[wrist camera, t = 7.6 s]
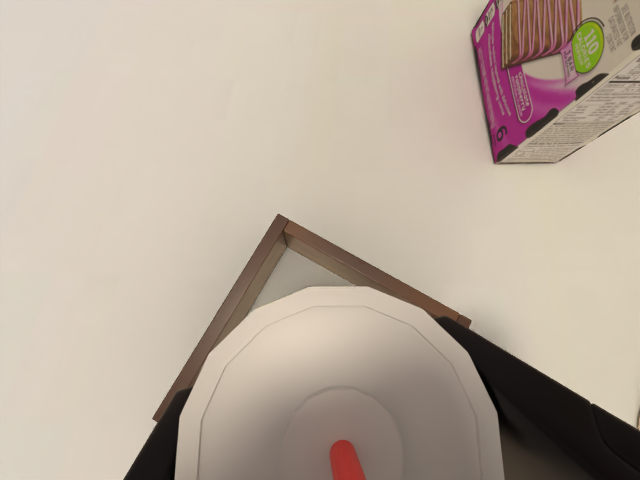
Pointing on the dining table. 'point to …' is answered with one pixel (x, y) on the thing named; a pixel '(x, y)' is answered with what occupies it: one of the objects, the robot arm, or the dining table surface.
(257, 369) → the beverage cup
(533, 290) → the dining table surface
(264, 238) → the crate
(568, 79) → the candy bar box
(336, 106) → the dining table surface
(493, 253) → the dining table surface
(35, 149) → the dining table surface
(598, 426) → the robot arm
